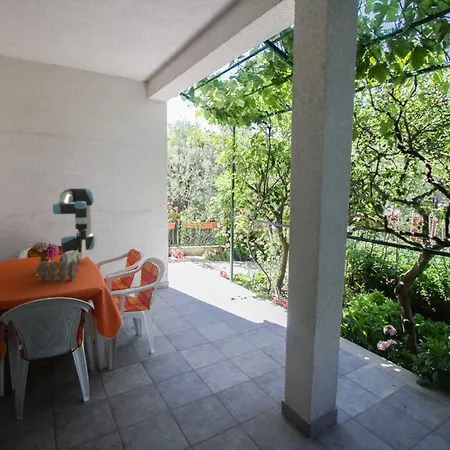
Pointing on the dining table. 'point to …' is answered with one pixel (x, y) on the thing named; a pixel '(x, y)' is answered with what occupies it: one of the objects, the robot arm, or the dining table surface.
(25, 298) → the dining table surface
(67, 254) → the candy bar box
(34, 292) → the dining table surface
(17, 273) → the dining table surface
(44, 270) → the tile
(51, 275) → the tile
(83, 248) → the tile
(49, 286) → the dining table surface
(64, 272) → the grey brown jagged slab
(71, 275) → the tile
